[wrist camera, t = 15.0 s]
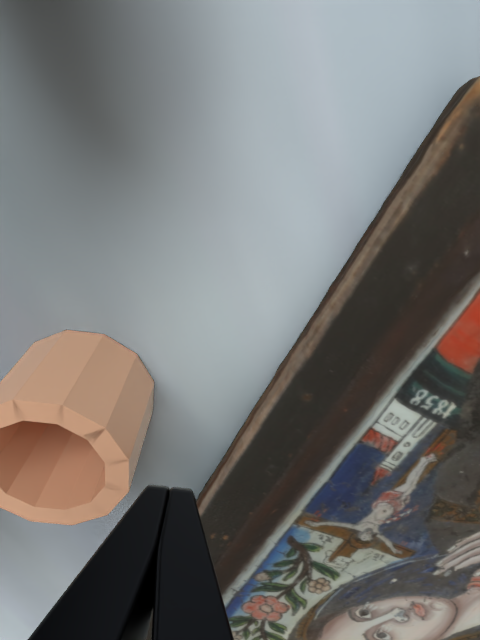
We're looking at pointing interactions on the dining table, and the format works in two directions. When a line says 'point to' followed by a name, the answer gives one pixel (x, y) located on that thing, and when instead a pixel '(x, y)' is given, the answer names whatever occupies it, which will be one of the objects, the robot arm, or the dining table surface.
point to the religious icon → (370, 431)
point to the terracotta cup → (72, 427)
